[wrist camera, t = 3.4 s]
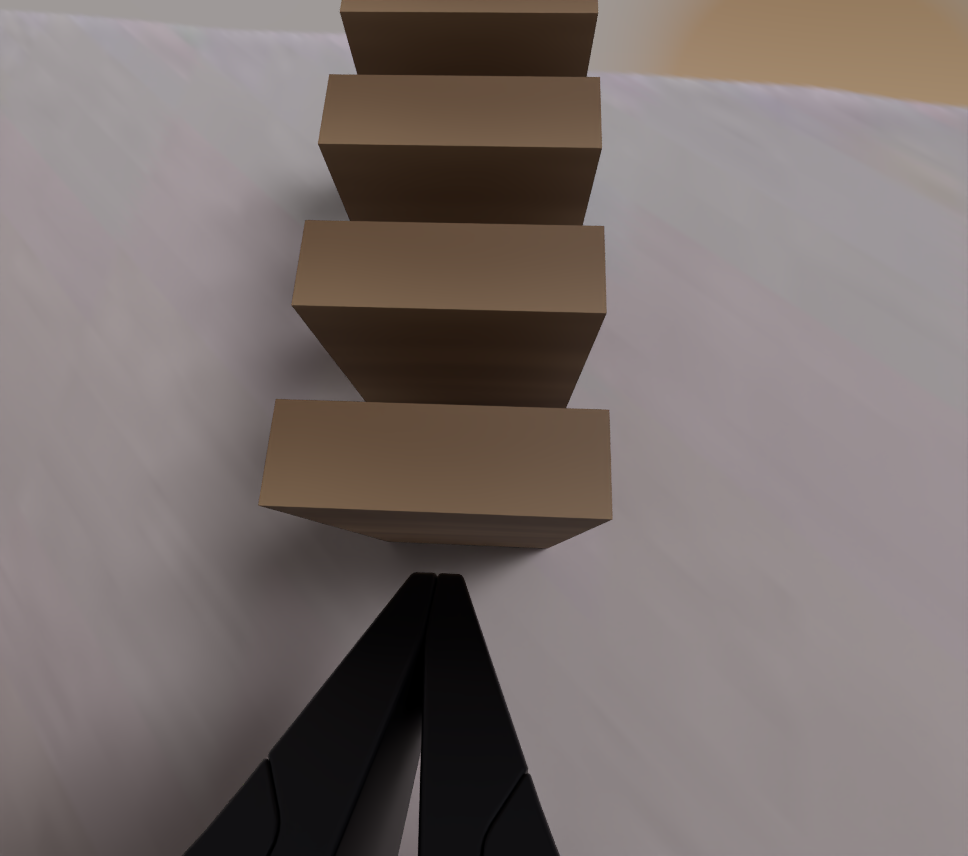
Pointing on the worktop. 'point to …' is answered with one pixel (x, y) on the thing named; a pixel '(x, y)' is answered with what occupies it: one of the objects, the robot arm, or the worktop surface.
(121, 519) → the worktop surface
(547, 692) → the worktop surface
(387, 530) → the domino
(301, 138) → the worktop surface
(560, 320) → the domino
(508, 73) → the domino
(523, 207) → the domino
